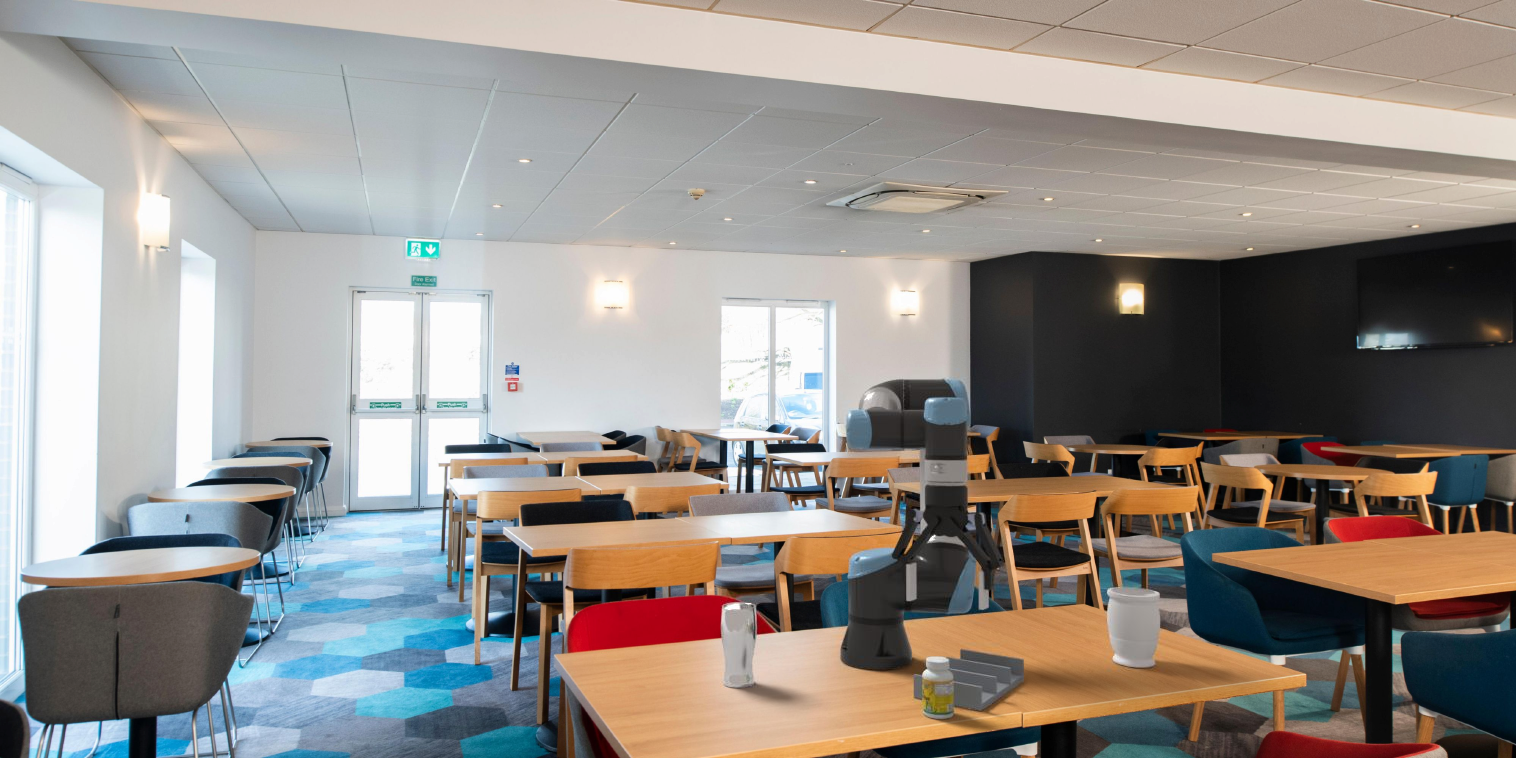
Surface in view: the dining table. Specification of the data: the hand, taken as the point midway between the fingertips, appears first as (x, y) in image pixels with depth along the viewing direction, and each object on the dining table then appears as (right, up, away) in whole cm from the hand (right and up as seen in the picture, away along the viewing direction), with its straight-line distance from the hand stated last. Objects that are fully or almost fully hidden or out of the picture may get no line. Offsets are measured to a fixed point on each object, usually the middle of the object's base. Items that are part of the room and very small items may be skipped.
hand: (946, 604), depth 162 cm
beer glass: (-37, -19, +15) cm, 45 cm away
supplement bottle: (-2, -19, -2) cm, 19 cm away
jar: (+46, -20, +30) cm, 58 cm away
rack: (+7, -19, +12) cm, 24 cm away
